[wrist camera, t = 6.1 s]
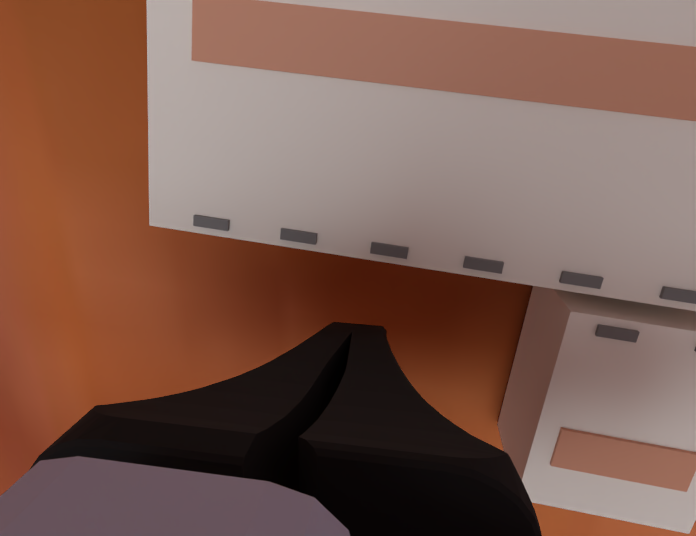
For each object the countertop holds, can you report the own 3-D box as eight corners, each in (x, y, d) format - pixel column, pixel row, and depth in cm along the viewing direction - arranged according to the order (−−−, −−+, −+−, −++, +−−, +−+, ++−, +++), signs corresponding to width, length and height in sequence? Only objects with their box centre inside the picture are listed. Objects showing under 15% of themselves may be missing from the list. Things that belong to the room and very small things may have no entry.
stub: (693, 292, 12) (777, 346, 10) (634, 450, 14) (691, 537, 11) (537, 268, 13) (571, 313, 10) (497, 424, 14) (517, 502, 12)
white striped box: (768, 21, 11) (902, -16, 8) (678, 274, 13) (757, 322, 10) (210, -35, 12) (142, -85, 9) (205, 203, 14) (147, 226, 11)
